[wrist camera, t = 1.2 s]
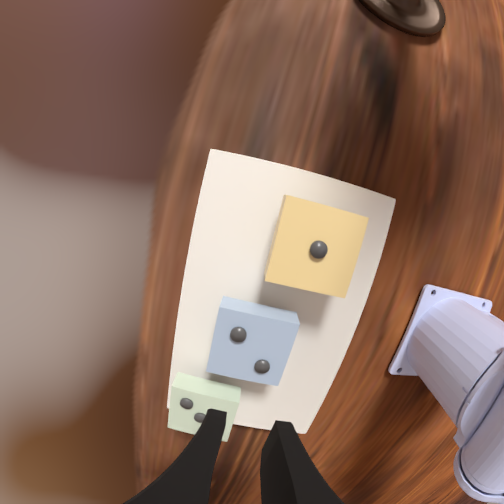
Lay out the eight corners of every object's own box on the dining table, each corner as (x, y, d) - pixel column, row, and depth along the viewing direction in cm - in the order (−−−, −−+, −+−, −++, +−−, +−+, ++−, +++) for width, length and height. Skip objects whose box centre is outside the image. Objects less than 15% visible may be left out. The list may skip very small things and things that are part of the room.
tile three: (241, 387, 18) (239, 404, 16) (229, 426, 19) (226, 443, 17) (177, 371, 18) (170, 387, 16) (173, 413, 19) (167, 429, 17)
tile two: (296, 312, 17) (300, 326, 15) (276, 370, 18) (278, 388, 16) (223, 295, 17) (218, 308, 15) (210, 356, 18) (205, 373, 16)
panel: (388, 198, 17) (403, 200, 15) (304, 424, 21) (307, 442, 19) (213, 151, 17) (207, 145, 15) (170, 399, 21) (163, 416, 19)
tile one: (358, 215, 15) (370, 218, 14) (337, 288, 16) (345, 299, 14) (283, 194, 15) (286, 194, 13) (264, 271, 16) (264, 282, 14)
